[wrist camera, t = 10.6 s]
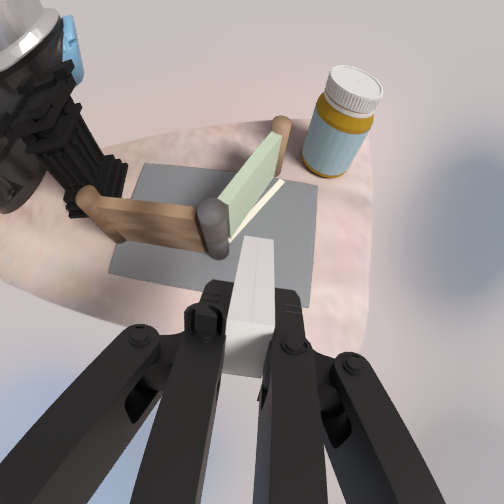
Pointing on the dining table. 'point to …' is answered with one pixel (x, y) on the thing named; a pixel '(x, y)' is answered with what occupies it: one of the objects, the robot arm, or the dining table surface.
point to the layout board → (255, 224)
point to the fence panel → (256, 174)
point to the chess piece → (62, 137)
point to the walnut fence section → (159, 222)
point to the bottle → (341, 120)
